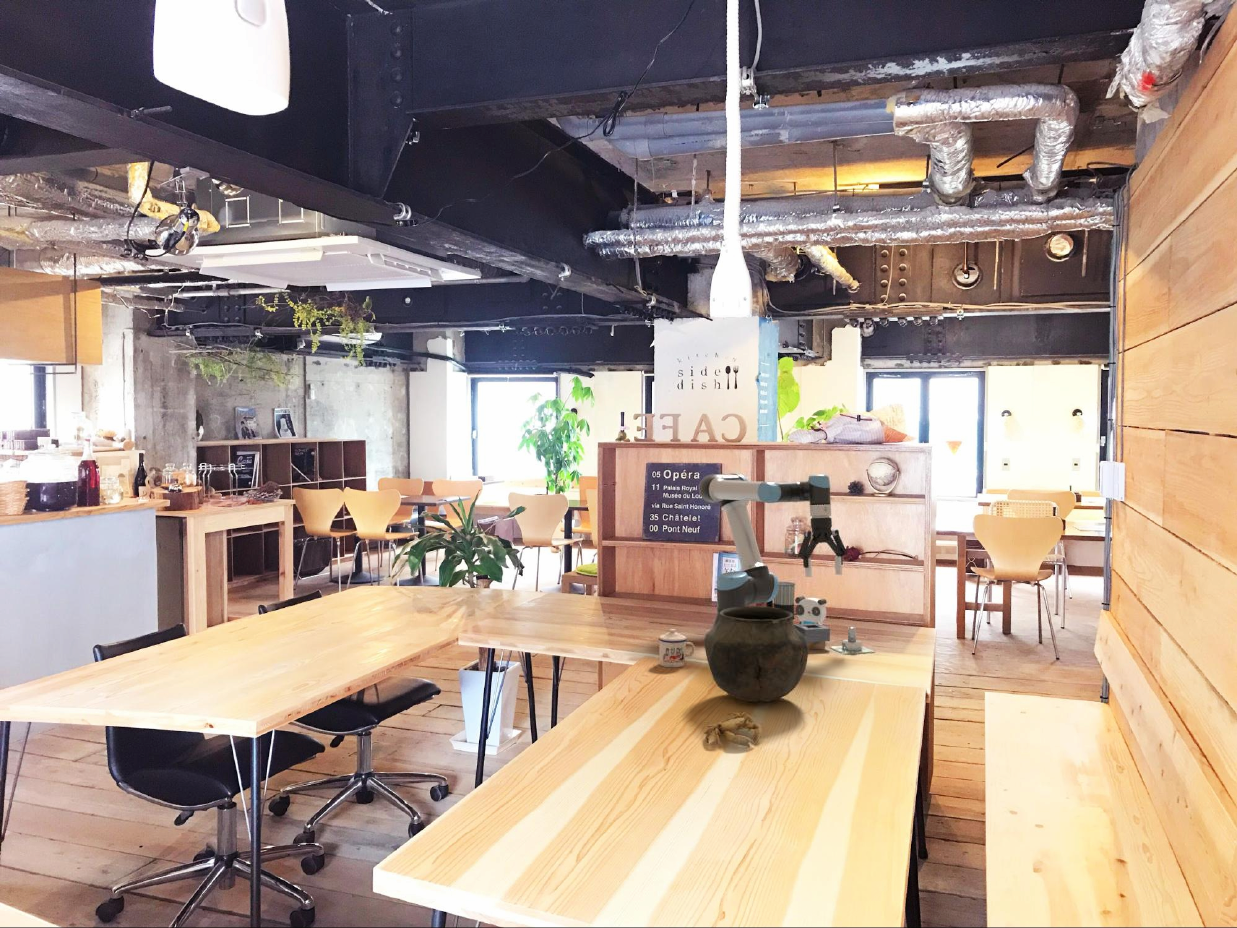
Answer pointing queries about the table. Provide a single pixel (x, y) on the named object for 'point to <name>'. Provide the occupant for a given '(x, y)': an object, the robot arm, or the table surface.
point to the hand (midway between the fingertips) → (823, 575)
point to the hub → (851, 644)
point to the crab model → (735, 724)
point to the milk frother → (784, 597)
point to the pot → (756, 653)
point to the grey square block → (814, 632)
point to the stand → (816, 645)
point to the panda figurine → (810, 610)
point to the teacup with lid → (673, 649)
